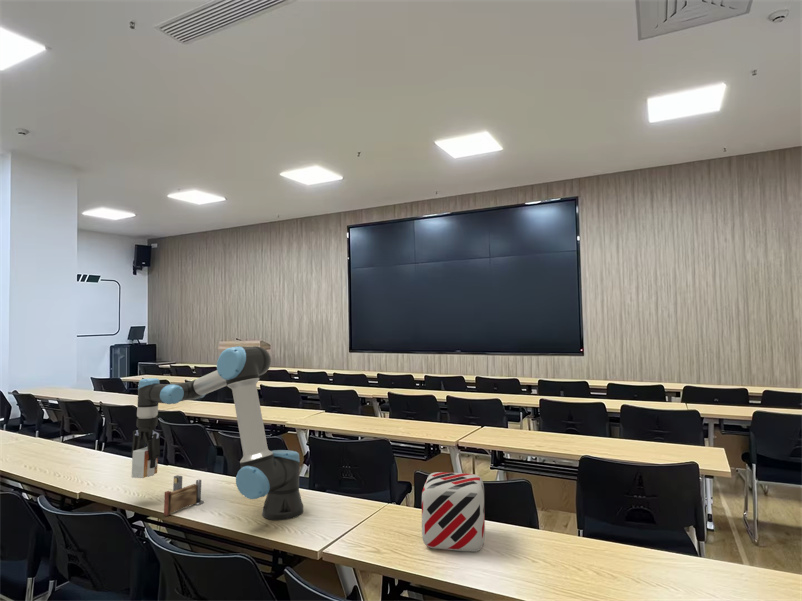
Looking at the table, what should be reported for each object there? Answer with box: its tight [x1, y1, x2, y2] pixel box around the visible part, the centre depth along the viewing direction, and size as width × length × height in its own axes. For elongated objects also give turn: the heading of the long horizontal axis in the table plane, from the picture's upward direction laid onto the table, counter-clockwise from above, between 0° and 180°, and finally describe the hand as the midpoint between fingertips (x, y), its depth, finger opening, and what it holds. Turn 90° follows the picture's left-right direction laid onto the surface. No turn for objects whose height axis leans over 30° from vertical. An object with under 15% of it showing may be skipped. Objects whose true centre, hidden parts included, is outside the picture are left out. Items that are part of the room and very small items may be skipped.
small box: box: [131, 446, 159, 479], centre depth 186 cm, size 8×6×10 cm
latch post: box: [172, 474, 183, 491], centre depth 194 cm, size 5×3×8 cm, turn 65°
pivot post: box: [192, 479, 205, 506], centre depth 186 cm, size 4×4×9 cm
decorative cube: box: [421, 471, 486, 552], centre depth 152 cm, size 20×20×20 cm
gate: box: [163, 483, 197, 516], centre depth 178 cm, size 13×2×8 cm, turn 155°
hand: (144, 474), depth 185 cm, fingers closed on small box, 6 cm apart
